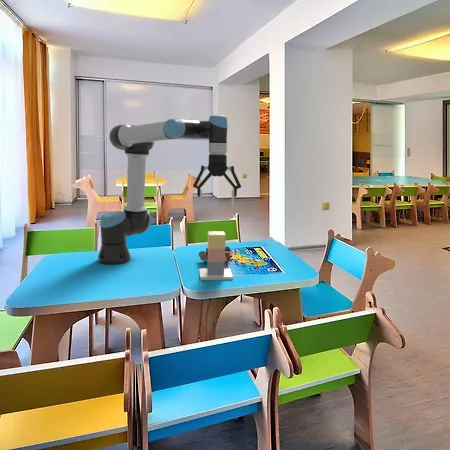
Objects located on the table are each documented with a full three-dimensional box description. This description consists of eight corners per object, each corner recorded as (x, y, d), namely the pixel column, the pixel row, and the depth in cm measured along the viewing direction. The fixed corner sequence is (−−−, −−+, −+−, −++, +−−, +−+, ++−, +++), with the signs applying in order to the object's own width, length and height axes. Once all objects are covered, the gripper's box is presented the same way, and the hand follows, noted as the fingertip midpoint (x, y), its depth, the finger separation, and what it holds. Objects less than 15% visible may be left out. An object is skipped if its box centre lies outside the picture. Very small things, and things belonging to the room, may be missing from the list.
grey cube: (208, 275, 176) (208, 261, 174) (207, 270, 182) (207, 257, 181) (224, 275, 176) (224, 261, 175) (222, 270, 183) (223, 257, 182)
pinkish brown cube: (208, 262, 174) (208, 248, 173) (207, 257, 181) (207, 244, 180) (224, 261, 175) (225, 248, 174) (223, 257, 182) (223, 244, 180)
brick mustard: (208, 248, 173) (209, 234, 172) (207, 244, 180) (207, 231, 178) (225, 248, 174) (225, 234, 172) (223, 244, 180) (223, 231, 179)
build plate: (200, 279, 173) (200, 277, 173) (199, 271, 185) (199, 268, 184) (232, 279, 174) (232, 276, 174) (229, 270, 186) (229, 268, 186)
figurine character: (201, 268, 194) (232, 263, 196) (199, 252, 192) (230, 248, 194) (199, 263, 201) (229, 259, 203) (198, 249, 199) (228, 244, 201)
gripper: (187, 153, 164) (187, 205, 168) (248, 154, 166) (247, 205, 171) (187, 153, 171) (187, 202, 175) (246, 154, 174) (244, 203, 178)
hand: (216, 204), depth 173 cm, fingers open, 13 cm apart
